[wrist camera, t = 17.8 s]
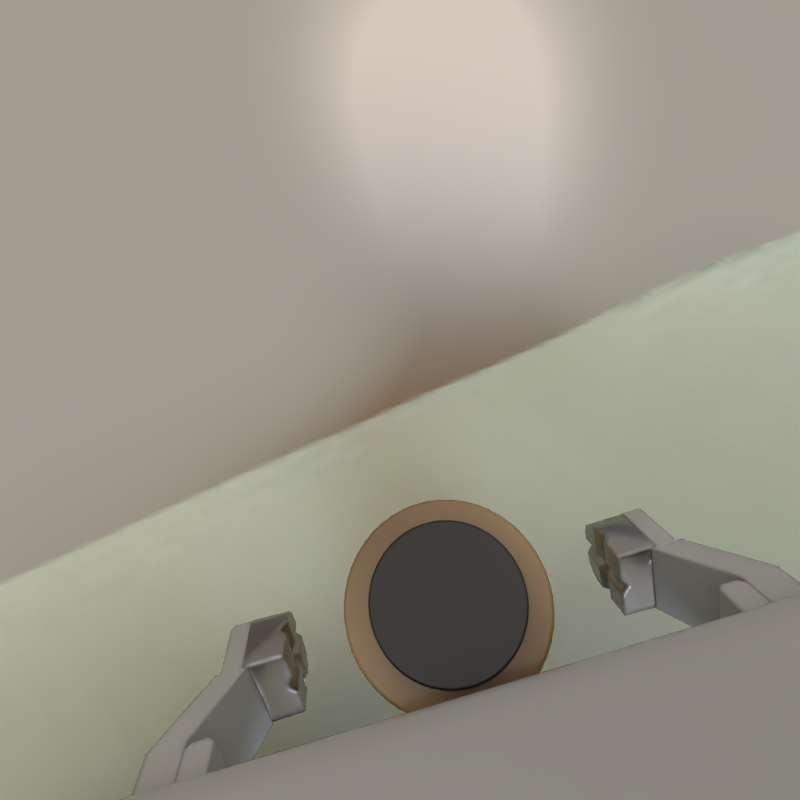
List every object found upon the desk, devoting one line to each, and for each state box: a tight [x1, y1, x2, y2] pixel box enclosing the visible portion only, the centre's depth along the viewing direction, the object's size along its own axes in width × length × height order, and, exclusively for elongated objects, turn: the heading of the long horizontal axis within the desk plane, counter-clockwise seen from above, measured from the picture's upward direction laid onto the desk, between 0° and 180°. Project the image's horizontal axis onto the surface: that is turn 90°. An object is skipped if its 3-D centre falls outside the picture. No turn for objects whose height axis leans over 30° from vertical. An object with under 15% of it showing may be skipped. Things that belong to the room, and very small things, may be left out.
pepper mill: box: [344, 500, 554, 713], centre depth 14 cm, size 4×4×9 cm
